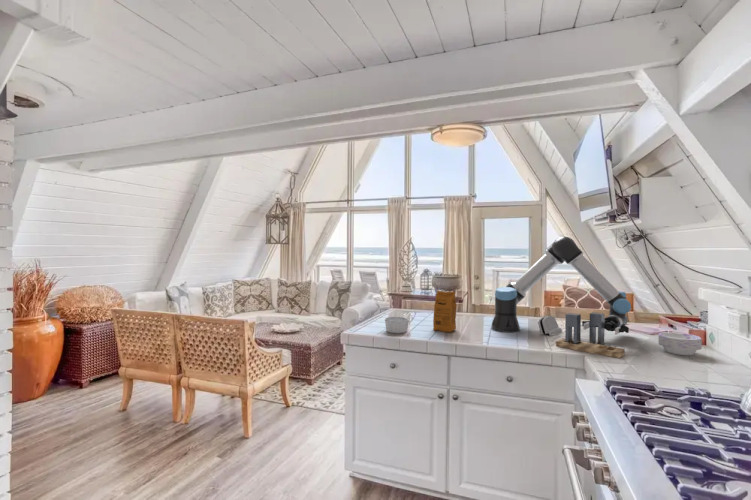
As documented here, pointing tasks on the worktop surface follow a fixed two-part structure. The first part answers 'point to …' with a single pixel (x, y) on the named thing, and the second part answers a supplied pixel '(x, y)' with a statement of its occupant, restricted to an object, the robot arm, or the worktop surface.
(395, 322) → the ramekin
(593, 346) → the oak rail
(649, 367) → the worktop surface
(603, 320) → the steel clip
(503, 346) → the worktop surface
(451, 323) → the coffee package
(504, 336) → the worktop surface
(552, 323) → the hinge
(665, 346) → the paper bowls
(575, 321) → the seated clip
